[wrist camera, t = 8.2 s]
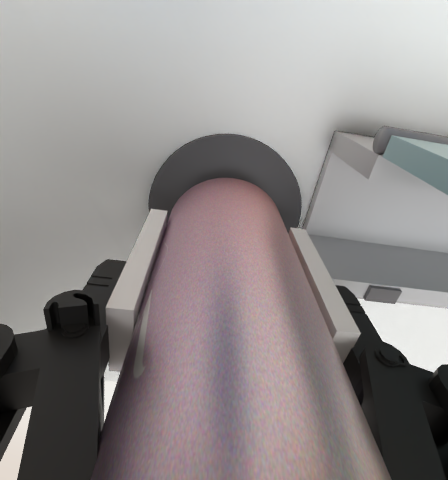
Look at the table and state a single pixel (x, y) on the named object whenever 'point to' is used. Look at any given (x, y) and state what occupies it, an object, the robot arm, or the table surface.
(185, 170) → the coaster
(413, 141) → the cover
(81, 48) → the table surface
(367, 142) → the grey rectangular tray
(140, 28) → the table surface
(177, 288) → the beverage can
